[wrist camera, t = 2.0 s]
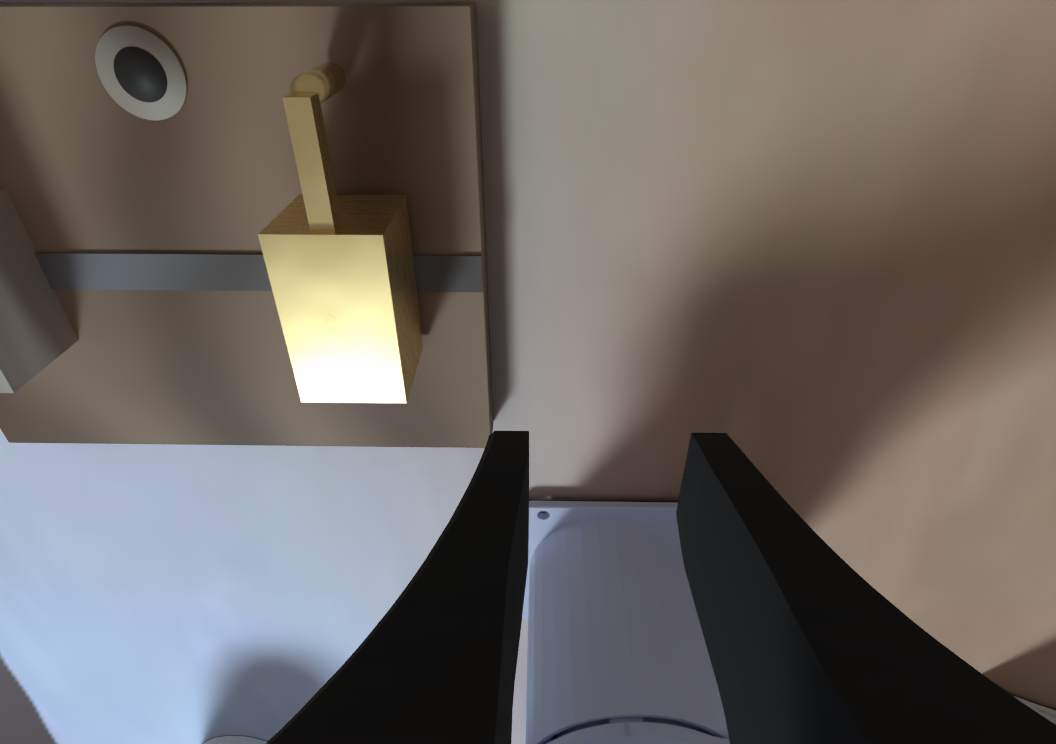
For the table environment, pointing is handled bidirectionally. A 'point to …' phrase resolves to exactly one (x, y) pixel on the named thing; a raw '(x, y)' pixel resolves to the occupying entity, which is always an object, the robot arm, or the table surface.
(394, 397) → the brass leg
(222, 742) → the drinking glass
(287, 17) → the gauge board
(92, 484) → the table surface
